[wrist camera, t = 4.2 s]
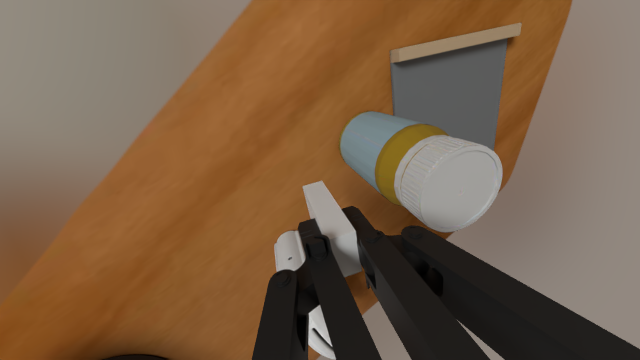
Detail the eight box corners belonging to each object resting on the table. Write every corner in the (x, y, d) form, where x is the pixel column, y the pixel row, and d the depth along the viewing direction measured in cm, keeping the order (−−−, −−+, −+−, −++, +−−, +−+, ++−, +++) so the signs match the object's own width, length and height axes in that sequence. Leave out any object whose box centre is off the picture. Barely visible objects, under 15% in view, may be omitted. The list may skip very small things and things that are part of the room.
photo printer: (268, 240, 30) (276, 331, 19) (296, 223, 30) (320, 303, 19) (307, 285, 35) (332, 380, 24) (332, 270, 35) (367, 356, 24)
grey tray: (398, 195, 33) (405, 201, 31) (389, 50, 25) (398, 48, 24) (488, 166, 35) (500, 170, 33) (506, 26, 28) (521, 22, 26)
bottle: (373, 175, 31) (465, 247, 17) (327, 155, 28) (393, 223, 15) (400, 125, 29) (526, 162, 16) (354, 99, 26) (457, 118, 13)
